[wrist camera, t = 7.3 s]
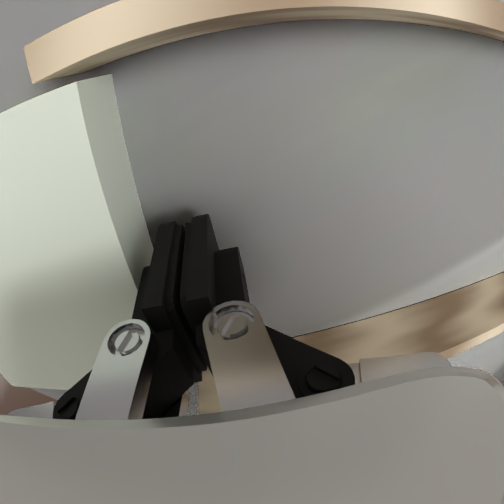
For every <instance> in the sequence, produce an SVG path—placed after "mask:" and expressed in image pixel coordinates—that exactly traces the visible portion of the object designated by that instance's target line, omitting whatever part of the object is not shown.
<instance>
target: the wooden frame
mask: <svg viewBox="0 0 504 504" xmlns="http://www.w3.org/2000/svg"><path fill="white" fill-rule="evenodd" d="M322 19H366V20H385V21H398V22H408V23H417V24H425V25H432V26H438V27H444V28H450V29H455V30H461V31H465V32H470V33H474V34H479V35H483V36H487V37H491V38H494V39H498V40H502V41H504V3H502V2H499V1H497V0H121V1H118V2H115V3H113V4H110V5H108V6H105V7H103V8H100V9H98V10H95V11H93V12H91V13H88V14H86V15H84V16H82V17H79V18H77V19H75V20H73V21H71V22H69V23H67V24H65V25H63V26H61V27H59V28H57V29H55V30H53V31H51V32H49V33H47V34H45V35H44V36H42V37H40V38H38V39H36V40H35V41H33V42H31V43H30V44H28V45H26V46H25V47H24V51H25V56H26V60H27V64H28V69H29V73H30V77H31V80H32V84H35V83H39V82H43V81H47V80H51V79H55V78H59V77H64V76H68V75H73V74H78V73H83V72H87V71H89V70H92V69H94V68H97V67H99V66H102V65H104V64H107V63H109V62H112V61H115V60H117V59H120V58H123V57H126V56H129V55H131V54H134V53H137V52H141V51H144V50H147V49H150V48H153V47H157V46H160V45H164V44H167V43H171V42H174V41H178V40H182V39H186V38H190V37H194V36H199V35H203V34H208V33H213V32H218V31H223V30H228V29H234V28H240V27H246V26H253V25H261V24H269V23H278V22H289V21H302V20H322ZM503 331H504V272H503V273H500V274H498V275H495V276H493V277H490V278H488V279H485V280H482V281H480V282H477V283H475V284H472V285H469V286H467V287H464V288H461V289H458V290H456V291H453V292H450V293H447V294H444V295H441V296H439V297H436V298H433V299H430V300H427V301H424V302H421V303H418V304H414V305H411V306H408V307H405V308H402V309H399V310H395V311H392V312H389V313H385V314H382V315H379V316H375V317H372V318H368V319H365V320H361V321H357V322H354V323H350V324H346V325H342V326H339V327H335V328H331V329H327V330H323V331H319V332H315V333H311V334H306V335H302V336H298V337H294V339H296V340H298V341H300V342H302V343H305V344H307V345H309V346H311V347H314V348H316V349H318V350H321V351H323V352H325V353H328V354H330V355H332V356H335V357H337V358H339V359H341V360H342V361H344V362H346V363H347V364H349V363H359V360H360V359H367V358H378V357H388V356H397V355H406V354H414V353H422V352H435V353H438V354H440V355H443V356H444V357H445V358H446V359H447V358H450V357H452V356H454V355H456V354H459V353H461V352H463V351H465V350H467V349H470V348H472V347H474V346H476V345H478V344H480V343H482V342H484V341H486V340H488V339H490V338H492V337H494V336H496V335H498V334H500V333H502V332H503ZM198 396H199V414H208V413H216V412H222V409H221V406H220V402H219V398H218V394H217V390H216V386H215V381H214V378H213V376H212V374H211V372H210V370H209V368H208V366H207V371H202V381H201V382H198Z"/></svg>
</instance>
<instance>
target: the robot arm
mask: <svg viewBox="0 0 504 504" xmlns="http://www.w3.org/2000/svg"><path fill="white" fill-rule="evenodd" d="M207 366H208V368H209V370H210V372H211V374H212V376H213V378H214V381H215V386H216V390H217V394H218V398H219V402H220V406H221V409H222V412H216V413H208V414H199V415H190V416H187V412H188V405H189V391H188V389H189V388H190V387H191V386H192V385H193V384H194V382H201V381H202V371H207ZM0 504H504V386H503V384H501V383H500V382H499V381H498V380H497V379H496V378H495V377H493V376H492V375H490V374H489V373H487V372H484V371H481V370H478V369H472V368H465V367H452V366H451V364H450V362H449V361H448V360H447V359H446V358H445V357H444V356H443V355H440V354H438V353H435V352H422V353H414V354H406V355H397V356H388V357H378V358H367V359H360V360H359V363H349V364H347V363H346V362H344V361H342V360H341V359H339V358H337V357H335V356H332V355H330V354H328V353H325V352H323V351H321V350H318V349H316V348H314V347H311V346H309V345H307V344H305V343H302V342H300V341H298V340H296V339H294V338H291V337H289V336H287V335H285V334H283V333H280V332H278V331H276V330H274V329H272V328H269V327H267V326H265V325H264V323H263V320H262V318H261V315H260V313H259V311H258V310H257V309H256V307H255V306H253V305H252V304H250V302H249V296H248V290H247V284H246V279H245V274H244V270H243V265H242V261H241V257H240V253H239V249H238V247H234V248H229V249H224V250H220V251H219V249H218V245H217V242H216V238H215V235H214V231H213V227H212V224H211V220H210V217H209V215H208V214H205V215H201V216H196V217H192V221H191V222H189V223H187V224H186V231H185V228H184V226H183V224H180V225H178V224H177V222H176V221H175V222H170V223H166V224H162V225H160V226H159V229H158V233H157V237H156V241H155V246H154V250H153V254H152V258H151V263H150V266H145V267H144V268H143V271H142V275H141V279H140V283H139V288H138V292H137V296H136V301H135V306H134V310H133V315H132V319H130V320H125V321H123V322H120V323H118V324H117V325H116V326H114V327H113V328H112V329H111V330H110V331H109V332H108V333H107V335H106V337H105V338H104V340H103V343H102V346H101V348H100V351H99V353H98V356H97V358H96V361H95V364H94V366H93V369H92V370H91V371H90V372H88V373H87V374H86V375H85V376H84V377H83V378H82V379H81V380H79V381H78V382H77V383H76V384H75V385H74V386H73V387H72V388H70V389H69V390H68V391H67V392H66V393H65V394H64V395H63V396H62V397H61V398H60V399H59V400H58V401H57V403H55V402H54V401H52V402H48V403H45V404H40V405H36V406H32V407H27V408H23V409H18V410H14V411H12V412H10V413H9V414H8V415H0Z"/></svg>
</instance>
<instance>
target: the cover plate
mask: <svg viewBox="0 0 504 504" xmlns="http://www.w3.org/2000/svg"><path fill="white" fill-rule="evenodd" d="M153 250H154V249H153V246H152V242H151V239H150V236H149V232H148V229H147V225H146V222H145V218H144V215H143V211H142V208H141V204H140V200H139V196H138V193H137V189H136V185H135V181H134V177H133V173H132V169H131V165H130V161H129V157H128V152H127V148H126V143H125V139H124V134H123V130H122V125H121V120H120V115H119V110H118V105H117V100H116V94H115V89H114V83H113V77H112V74H108V75H103V76H98V77H94V78H89V79H85V80H81V81H77V82H74V83H71V84H68V85H65V86H63V87H60V88H57V89H55V90H52V91H50V92H47V93H45V94H42V95H40V96H37V97H35V98H33V99H30V100H28V101H26V102H23V103H21V104H19V105H17V106H15V107H12V108H10V109H8V110H6V111H4V112H2V113H0V373H1V374H2V375H3V377H5V379H6V380H7V381H8V382H9V383H10V384H11V385H12V386H18V387H29V388H41V389H57V390H69V389H70V388H72V387H73V386H74V385H75V384H76V383H77V382H78V381H79V380H81V379H82V378H83V377H84V376H85V375H86V374H87V373H88V372H90V371H91V370H92V369H93V366H94V364H95V361H96V358H97V356H98V353H99V351H100V348H101V346H102V343H103V340H104V338H105V337H106V335H107V333H108V332H109V331H110V330H111V329H112V328H113V327H114V326H116V325H117V324H118V323H120V322H123V321H125V320H130V319H132V315H133V310H134V306H135V301H136V296H137V292H138V288H139V283H140V279H141V275H142V271H143V268H144V267H145V266H150V263H151V258H152V254H153Z"/></svg>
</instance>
